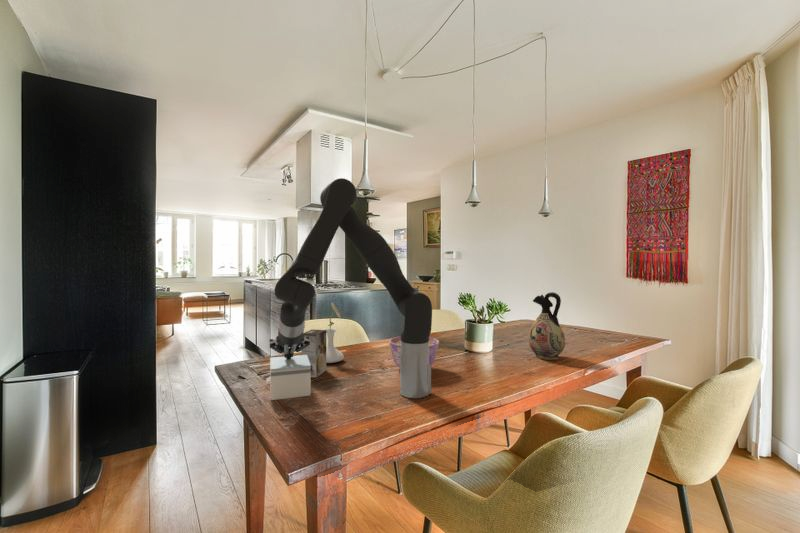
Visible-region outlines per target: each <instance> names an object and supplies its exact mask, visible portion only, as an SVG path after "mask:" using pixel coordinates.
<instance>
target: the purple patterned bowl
mask: <svg viewBox="0 0 800 533" xmlns="http://www.w3.org/2000/svg"><path fill="white" fill-rule="evenodd" d="M388 340H389V341H388V342H389V346H390V352H391V356H392V360H393V362H394V364H395V365H396V367H398V368H400V360H401V335H399V336H396V337H392V338H390V339H388ZM439 344H440V340H439V339H437V338H434V337H431V336H429V364H430V365H431V367H432V366H433V364H434V362H435V361H436V357H437V353H438V350H439V347H440V346H439Z"/></svg>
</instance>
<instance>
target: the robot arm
mask: <svg viewBox="0 0 800 533" xmlns="http://www.w3.org/2000/svg"><path fill="white" fill-rule="evenodd" d="M319 197H320V198H319V199H320V204H321V206H322V210H321V213H320V214H319V216H318V219H317V220H316V222H315V224H314V225H313V227H312V228H311V230H310V232H309V233H308V235H307V236H306V238H305V240H304V242H303V243H302V246H301V247H300V249H299V252H298V254H297V256H296V257H295V260H294V261H293V263H292V264H291V265H290V267H288V269H287V270H286V272H285V273H284V274H283V275H282V276H281V277H280V278H279V279H278V281H277V282H276V284H275V286H274V296H275V298H276V299H278V300H280V301H282V303H281V306H280V314H279V320H278V329H277V330H278V332H277V336H276V337H275V339H273V338H272V339H271V338H270V339H269V348H270V349H271V350H273V351H274V352H277V353H279V354H284V356H283V357H285V358H286V359H291V357H293V356H294V353H299V352H300V353H301V350H302V349H304V348H305V347H307V346H308V345H310V339H309V337H306V338H304V335H303V333H305V327H306V324H305V323H306V320H305V318H306V311H307V310H308V307H309V306H310V305H311V303H312V302H313V300H314V298H315V296H316V289H315V287H314V285H313V284H312V283H311V282H307V281H305V280H303V279H300V278H298V277H299V276H301V275H305V276H306V275H308V276H315V275H317V274H318V273H319V271H320V268H321V267H322V264H323V261H324V259H325V258H326V255H327V253H328V251H329V249H330V246H331V243H332V241H333V239H334V238H335V235H336V233H337V231H338V229H339V228H340V229H341V230H342V231H343V233H344V234H345V235H346V237H347V238H348V240H349V242H350V243H351V244H352V245H353V247H354V248H355V249H356V251H357V252H358V254H359V256H360V257H361V258H362V259H363V261H364V263H365V264H366V266H367V267H368V268H369V269H370V270H371V272H372V273H373V274H374V276H375V277H376V278H377V279H378V281H379V282H380V283H381V284H382V285H383V287H384V288H385V289H386V290H387V291H388V293H389V295H390V296H391V298H392V300H393V302H394V304H395V305H396V307H397V309H398V311H399V313H400V314H401V315H402V316H403V317H404V324H403V326H404V327H403V329H402V331H401V333H400V336H401V360H400V367H399V369H400V370H399V372H400V374H399V375H400V376H399V377H400V380H399V388H400V391H399V392H400V395H401V396H402V397H404V398H409V399H422V397H423V398H426V397H427V396H430V395H429V394H431V395H432V366H431V365H430V364H429V337H430V335H431V333H432V321H433V307H432V306H433V305H432V304H433V303H432V301H431V299H430V297H429V296H428V295H427V294H425V293H423V292H419V291H417V290H416V289H415V288H414V287H413V286H412V284H410V282H409V281H408V280H407V278H406V277H405V275H404V274H403V272H402V268H401V266H400V263H399V260H398V258H397V256H396V254H395V253H394V250H393V249H392V248H391V246H390V245H389V243H388V242H387V241H386V239H385V238H384V237H383V235H382V234H380V233H379V232H378V231H377V230H376V229H374V228H372V227H371V226H370V225H368V224H367V223H366V222H364V220H362V218H361V217H360V216H359V214H358V213H357V211H356V210H355V208H354V207H353V205H354V204H355V202H356V201H357V189H356V187H355V185H354V184H353V183H352V181H350V180H349V179H348V178H347V179H346V178H342V177H340V178H336V179H333V180H331V182H329V183H328V184H327V185H326V186H325V187H324V188H323V189H322V191H321V192H320V195H319ZM425 396H426V397H425Z"/></svg>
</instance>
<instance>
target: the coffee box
mask: <svg viewBox="0 0 800 533" xmlns="http://www.w3.org/2000/svg"><path fill="white" fill-rule="evenodd" d="M303 335H304V338H306V337H309V339H310V345H308V346H307V347H305V348H304V349H302V350H301V351H300V353H301V355H307V356H308V359H309V362H310V365H311V378H318V377H319V376H321V375H322V374H323V373H324V372H326V371H327V363H326V348H327V333H326V330H325V329H310V330H308V331H304V333H303Z"/></svg>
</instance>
